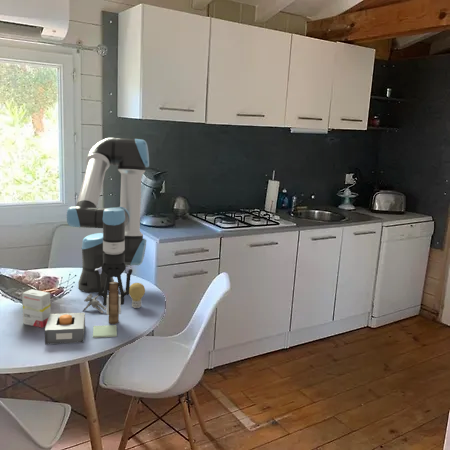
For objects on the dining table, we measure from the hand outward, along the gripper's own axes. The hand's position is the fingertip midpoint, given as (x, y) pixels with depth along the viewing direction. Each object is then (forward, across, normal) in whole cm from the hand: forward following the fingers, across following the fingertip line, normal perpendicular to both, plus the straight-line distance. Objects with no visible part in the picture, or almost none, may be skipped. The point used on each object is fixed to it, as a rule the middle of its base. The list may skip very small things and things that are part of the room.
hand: (113, 312), depth 178 cm
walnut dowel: (+4, 0, 0) cm, 4 cm away
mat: (+4, -3, -8) cm, 9 cm away
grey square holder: (+4, -16, -8) cm, 18 cm away
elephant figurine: (+4, -6, +12) cm, 14 cm away
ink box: (+4, -27, +2) cm, 27 cm away
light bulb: (+4, +9, +13) cm, 16 cm away
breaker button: (0, -16, -8) cm, 18 cm away
